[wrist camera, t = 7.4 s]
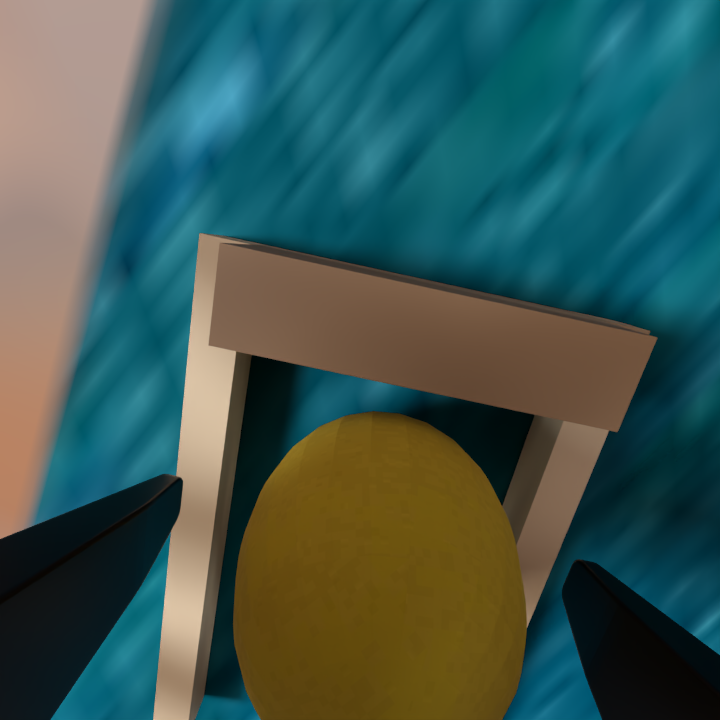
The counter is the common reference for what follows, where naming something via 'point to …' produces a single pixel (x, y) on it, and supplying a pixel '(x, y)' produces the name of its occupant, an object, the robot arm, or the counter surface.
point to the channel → (388, 365)
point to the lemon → (379, 581)
